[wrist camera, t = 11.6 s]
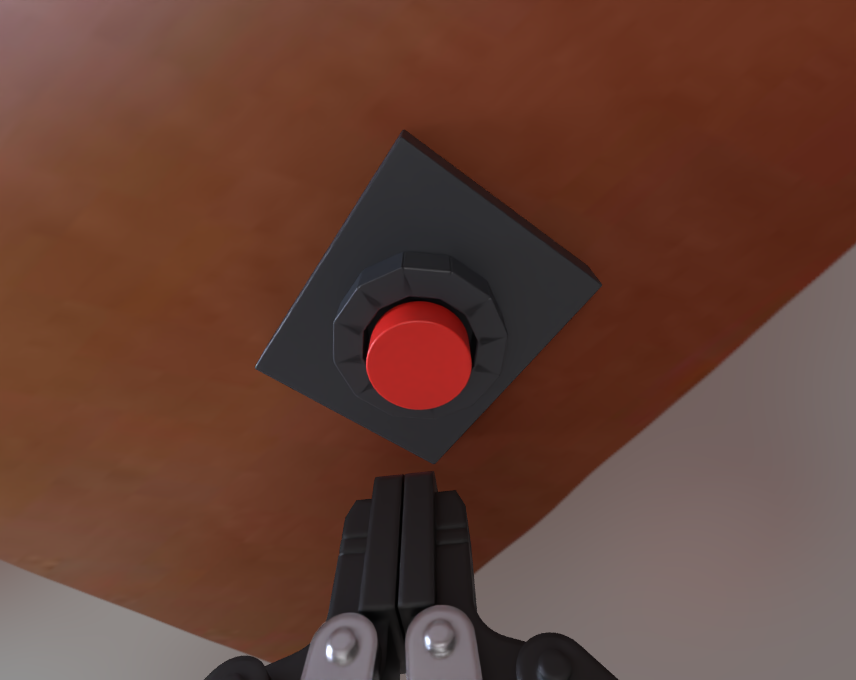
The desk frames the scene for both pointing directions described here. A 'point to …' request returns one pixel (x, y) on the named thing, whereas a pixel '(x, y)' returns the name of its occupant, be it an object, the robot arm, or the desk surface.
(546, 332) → the button base
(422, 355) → the button
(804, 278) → the desk surface
